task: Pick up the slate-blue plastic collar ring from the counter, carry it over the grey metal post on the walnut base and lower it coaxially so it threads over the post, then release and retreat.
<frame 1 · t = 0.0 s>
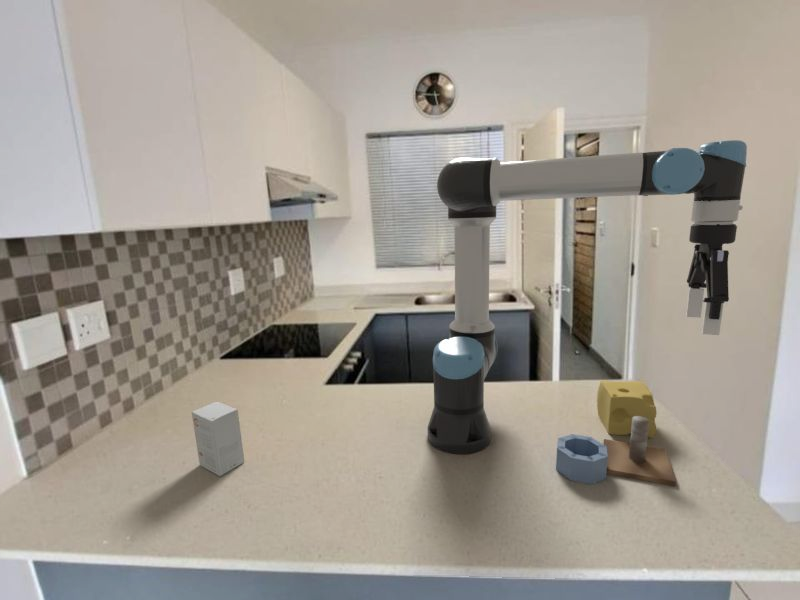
hand: (701, 325, 89), 28 cm above the countertop, fingers open, 13 cm apart
small box: (222, 464, 94), on the countertop
post: (636, 462, 89), on the countertop
cheese: (623, 426, 104), on the countertop
ring: (580, 468, 88), on the countertop
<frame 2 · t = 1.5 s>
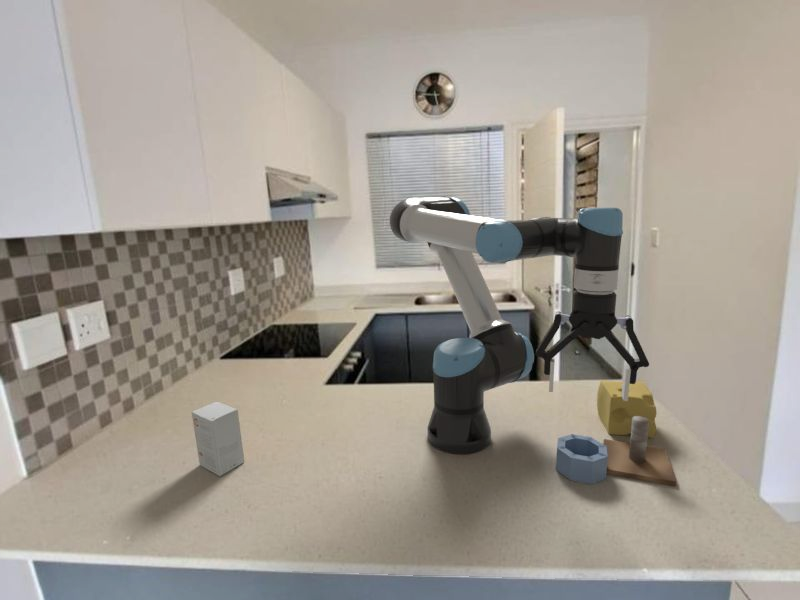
hand: (586, 393, 85), 17 cm above the countertop, fingers open, 13 cm apart
nothing on the countertop moved.
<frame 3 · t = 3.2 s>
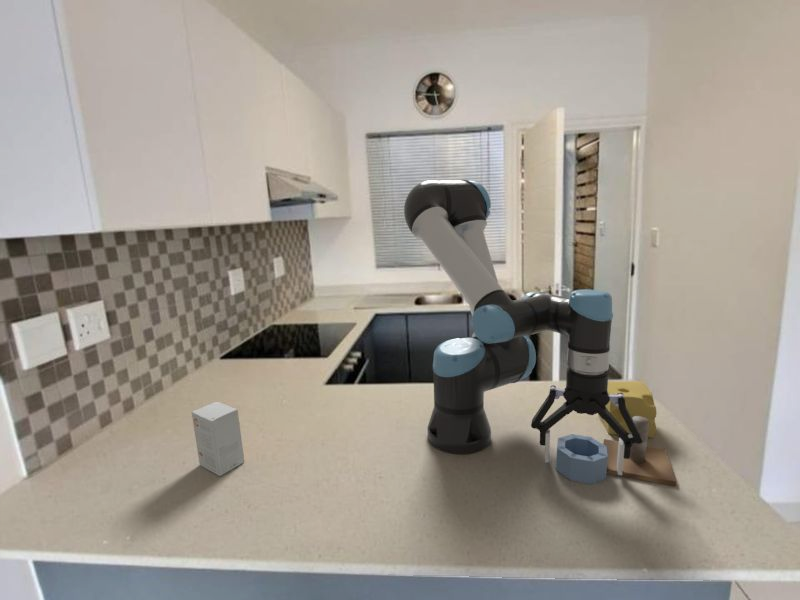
hand: (582, 465, 87), 1 cm above the countertop, fingers open, 13 cm apart
nothing on the countertop moved.
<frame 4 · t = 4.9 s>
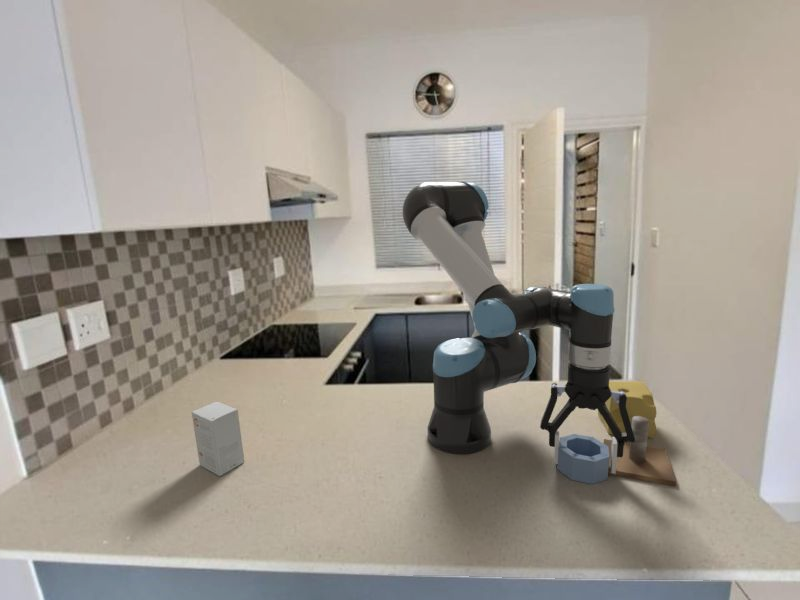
hand: (583, 464, 87), 1 cm above the countertop, fingers open, 10 cm apart
ring: (581, 468, 88), on the countertop, touching gripper, post
everything else where it was.
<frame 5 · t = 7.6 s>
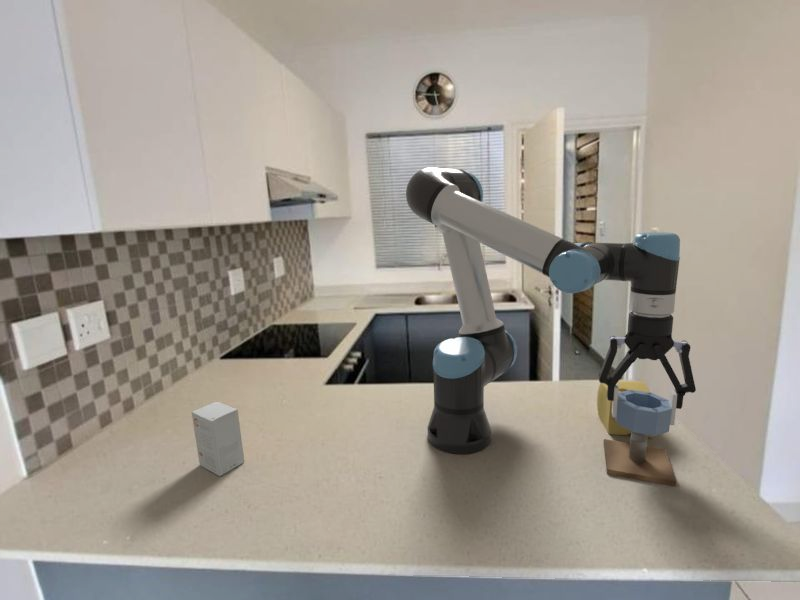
hand: (641, 418, 87), 10 cm above the countertop, fingers closed on ring, 9 cm apart
ring: (640, 422, 87), point 9 cm above the countertop, touching gripper
everything else where it was.
when the fingers open (3 cm above the countertop, at t = 10.3 s): ring stays where it is, resting on post.
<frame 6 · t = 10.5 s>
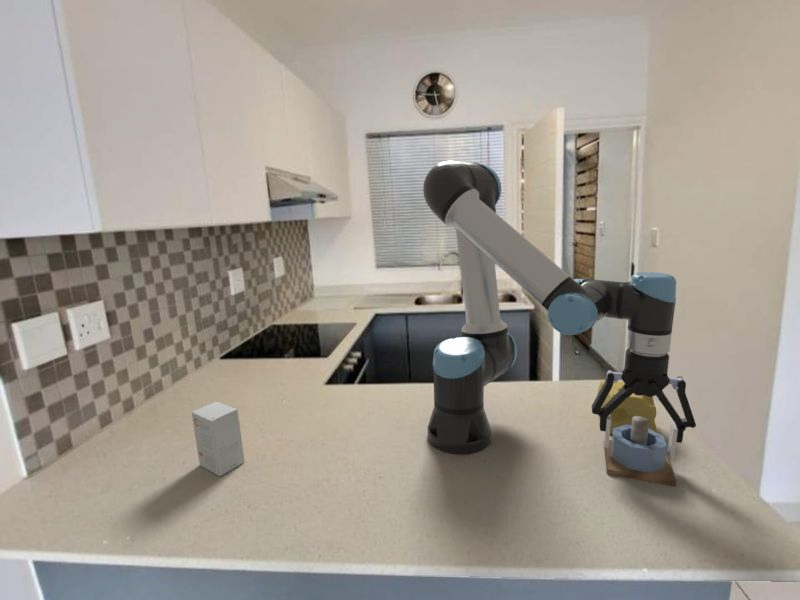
hand: (637, 449, 89), 3 cm above the countertop, fingers open, 11 cm apart
ring: (636, 458, 89), point 1 cm above the countertop, touching post
everything else where it was.
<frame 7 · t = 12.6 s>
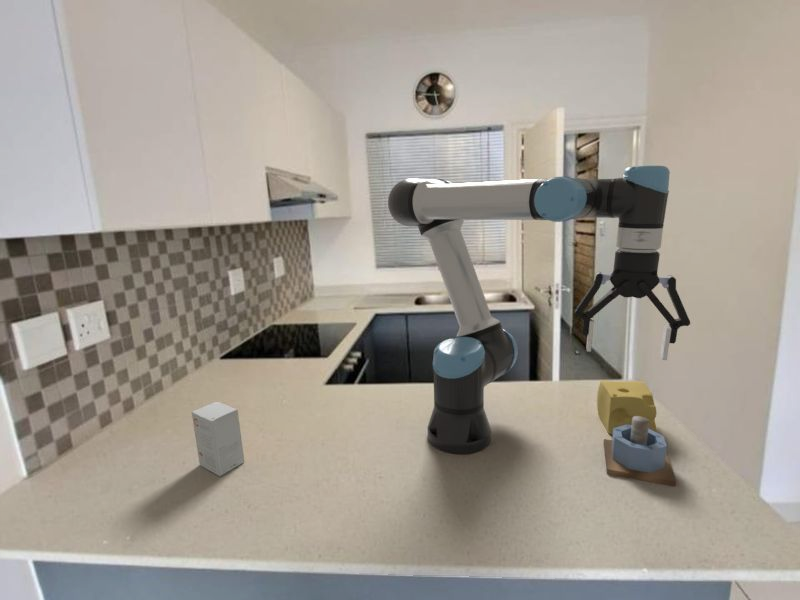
hand: (624, 353, 86), 24 cm above the countertop, fingers open, 13 cm apart
nothing on the countertop moved.
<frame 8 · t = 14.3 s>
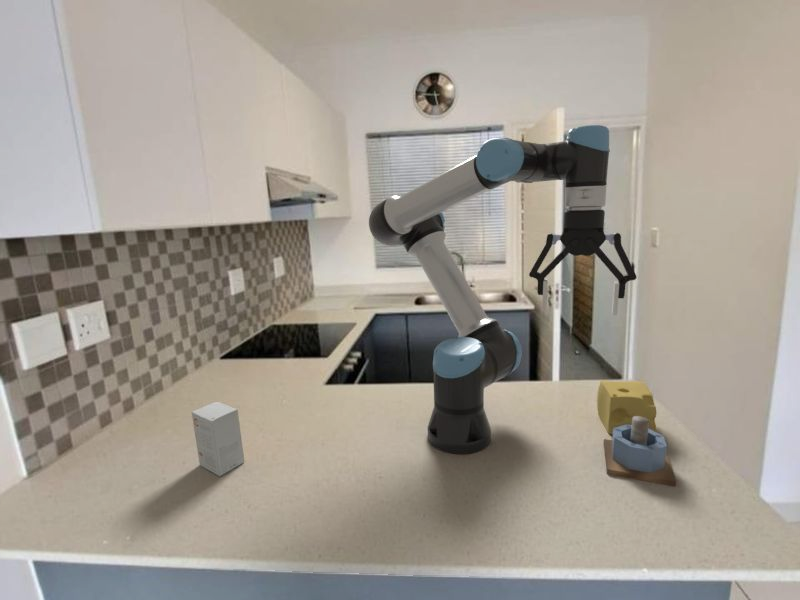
hand: (578, 311, 89), 32 cm above the countertop, fingers open, 13 cm apart
nothing on the countertop moved.
at the end: ring 0.1 cm from the post (horizontally); ring point 1.0 cm above the countertop; the gripper is holding nothing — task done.
